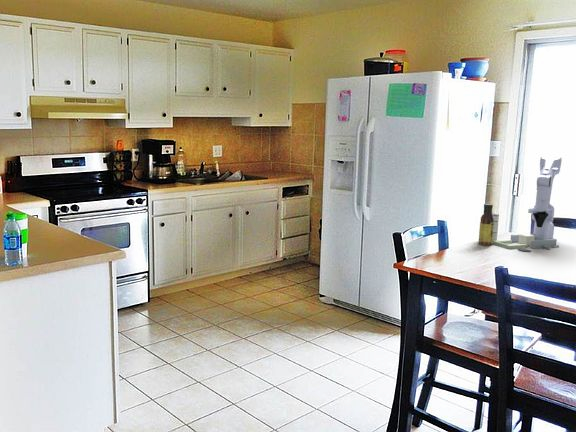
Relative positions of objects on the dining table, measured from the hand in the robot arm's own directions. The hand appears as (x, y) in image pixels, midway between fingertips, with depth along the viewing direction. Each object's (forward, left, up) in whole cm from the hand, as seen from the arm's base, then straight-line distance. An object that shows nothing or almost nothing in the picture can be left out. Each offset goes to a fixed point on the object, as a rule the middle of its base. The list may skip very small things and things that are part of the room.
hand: (539, 227), depth 271 cm
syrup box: (+20, -11, -9) cm, 25 cm away
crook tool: (0, +10, -8) cm, 13 cm away
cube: (+7, 0, -9) cm, 11 cm away
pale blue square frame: (+3, 0, -8) cm, 9 cm away
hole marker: (+18, +10, -8) cm, 23 cm away
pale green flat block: (+17, 0, -8) cm, 19 cm away
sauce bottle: (+28, -5, -9) cm, 30 cm away
